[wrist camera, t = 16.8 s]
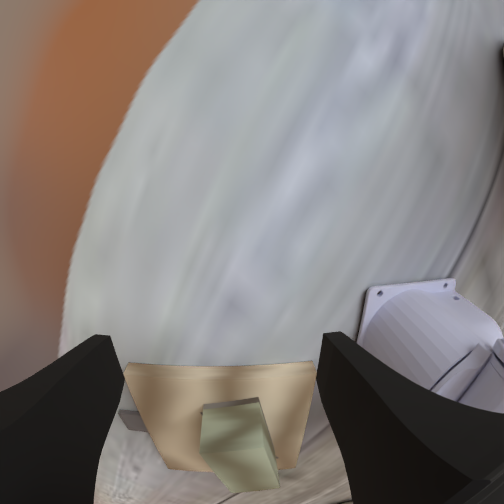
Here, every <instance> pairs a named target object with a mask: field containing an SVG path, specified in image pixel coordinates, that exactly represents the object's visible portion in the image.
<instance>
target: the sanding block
mask: <svg viewBox="0 0 504 504" xmlns="http://www.w3.org/2000/svg"><path fill="white" fill-rule="evenodd" d="M199 454H200V455H201V456H202V458H203V459H204V460H205V462H206V463H207V464H208V465H209V467H210V468H211V469H212V470H213V472H214V473H215V474H216V475H217V477H218V478H219V479H220V480H221V481H222V482H223V484H224V485H225V486H226V487H227V488H228V489H229V490H230V492H231V493H239V492H250V491H260V490H268V489H275V488H280V483H279V476H278V469H277V463H276V456H275V449H274V445H273V442H272V439H271V436H270V433H269V430H268V426H267V423H266V420H265V417H264V413H263V410H262V407H261V404H260V400H259V397H254V398H248V399H242V400H235V401H227V402H219V403H210V404H204V405H203V415H202V426H201V438H200V450H199Z"/></svg>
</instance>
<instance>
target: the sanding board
mask: <svg viewBox="0 0 504 504" xmlns="http://www.w3.org/2000/svg"><path fill="white" fill-rule="evenodd" d="M316 374H317V372H316V370H315V367H314V364H313V362H312V361H306V362H296V363H285V364H271V365H253V366H170V365H152V364H139V363H128V365H127V367H126V369H125V372H124V374H123V375H124V377H125V380H126V382H127V385H128V387H129V390H130V392H131V395H132V397H133V399H134V402H135V404H136V406H137V409H138V411H139V413H140V415H141V417H142V419H143V422H144V424H145V426H146V428H147V430H148V432H149V434H150V436H151V438H152V440H153V442H154V444H155V445H156V447H157V449H158V451H159V453H160V455H161V456H162V458H163V460H164V462H165V463H166V465H167V467H168V469H175V470H185V471H200V472H213V470H212V469H211V468H210V467H209V465H208V464H207V463H206V462H205V460H204V459H203V458H202V456H201V455H200V454H199V450H200V438H201V426H202V415H203V405H204V404H210V403H219V402H227V401H235V400H242V399H248V398H254V397H259V400H260V404H261V407H262V410H263V413H264V417H265V420H266V423H267V426H268V430H269V433H270V436H271V439H272V442H273V445H274V449H275V456H276V463H277V469H278V470H280V469H289V468H295V467H296V463H297V459H298V456H299V452H300V448H301V444H302V440H303V436H304V432H305V427H306V423H307V419H308V414H309V410H310V405H311V400H312V395H313V390H314V385H315V380H316Z"/></svg>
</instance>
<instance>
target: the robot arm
mask: <svg viewBox="0 0 504 504" xmlns="http://www.w3.org/2000/svg"><path fill="white" fill-rule="evenodd" d="M455 286H456V280H455V279H454V278H446V279H438V280H430V281H421V282H412V283H402V284H392V285H381V286H372V287H370V288H369V289H368V290H367V293H366V299H365V304H364V309H363V315H362V320H361V325H360V329H359V334H358V338H357V343H356V342H354V341H353V340H352V339H350V338H349V337H348V336H346V335H345V334H343V333H342V332H341V331H340V332H331V333H323V339H322V346H321V352H320V358H319V364H318V369H317V375H316V380H317V384H318V389H319V393H320V397H321V401H322V404H323V407H324V409H325V412H326V415H327V417H328V420H329V422H330V425H331V427H332V430H333V433H334V435H335V438H336V440H337V443H338V446H339V448H340V451H341V454H342V457H343V460H344V463H345V468H346V472H347V476H348V480H349V485H350V490H351V495H352V501H353V504H504V338H503V335H502V332H501V330H500V328H499V326H498V324H497V323H496V322H495V320H494V319H493V318H491V317H490V316H489V315H487V314H486V313H485V312H484V311H482V310H481V309H480V308H478V307H477V306H475V305H474V304H473V303H471V302H470V301H469V300H467V299H466V298H464V297H463V296H462V295H460V294H459V293H457V292H456V291H455ZM379 291H381V292H380V293H379V294H378V295H377V293H378V292H379ZM124 381H125V377H124V375H123V372H122V369H121V367H120V364H119V361H118V358H117V355H116V352H115V349H114V346H113V343H112V340H111V337H110V336H108V335H97V334H96V335H94V336H92V337H90V338H88V339H87V340H85V341H84V342H82V343H81V344H79V345H78V346H76V347H75V348H73V349H72V350H70V351H69V352H67V353H66V354H64V355H63V356H62V357H60V358H59V359H57V360H56V361H54V362H53V363H52V364H50V365H48V366H47V367H45V368H43V369H42V370H40V371H39V372H37V373H35V374H34V375H32V376H31V377H29V378H28V379H26V380H24V381H22V382H20V383H18V384H16V385H14V386H12V387H10V388H8V389H6V390H4V391H1V392H0V504H94V491H95V482H96V475H97V469H98V464H99V459H100V455H101V452H102V448H103V445H104V443H105V440H106V437H107V434H108V432H109V429H110V426H111V424H112V421H113V418H114V416H115V413H116V410H117V408H118V405H119V402H120V398H121V394H122V390H123V386H124Z"/></svg>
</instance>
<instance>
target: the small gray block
mask: <svg viewBox="0 0 504 504" xmlns="http://www.w3.org/2000/svg"><path fill="white" fill-rule="evenodd" d="M118 414H119V415H120V417H121V419H122V420H123V422H124V423H125V425H126V426H127V428H128V430H135V431H144V432H148V430H147V428H146V426H145V424H144V422H143V419H142V417H141V415H140V413H139V411H129V410H120V409H119V412H118Z"/></svg>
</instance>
